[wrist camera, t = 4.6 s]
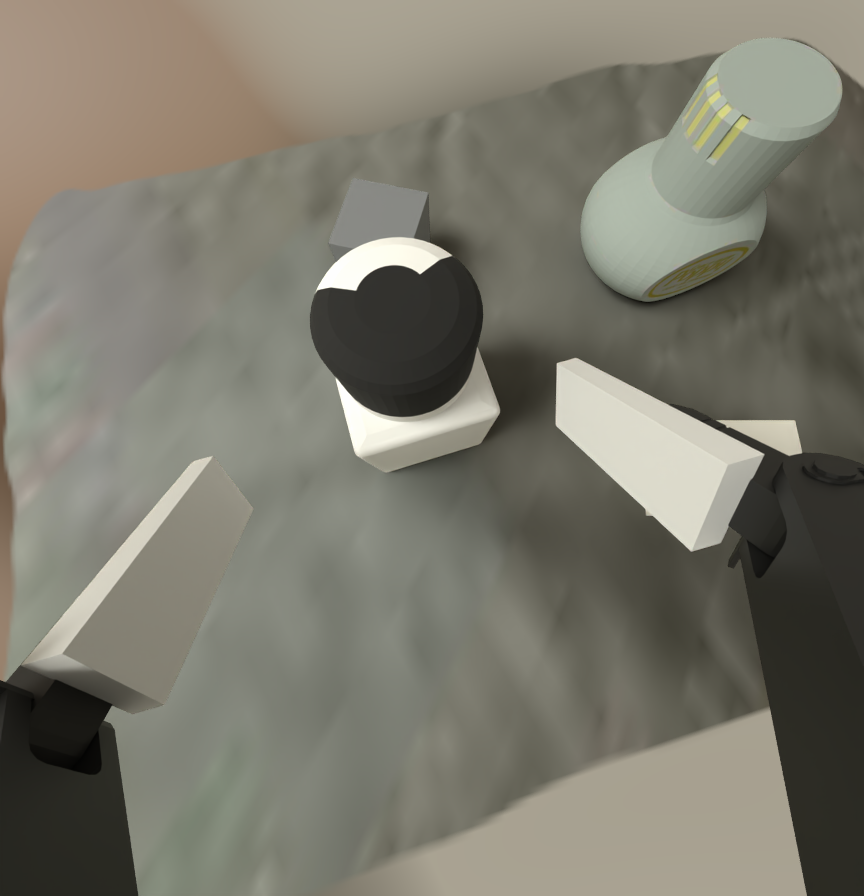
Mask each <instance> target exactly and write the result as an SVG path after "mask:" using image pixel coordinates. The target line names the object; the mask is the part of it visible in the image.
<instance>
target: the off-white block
mask: <svg viewBox="0 0 864 896" xmlns="http://www.w3.org/2000/svg"><path fill="white" fill-rule="evenodd" d="M716 421H718V422H720V423H722V424H725V425H726V427H727V428H729V427H731V428H733V429H735V430H737V431H739V432H741V433H743V434H745V435H747V436H749V437H751V438H753V439H755V440H758V441H760V442H762V443H764V444H766V445H768V446H770V447H772V448H774V449H776V450H778V451H780V452H782V453H784V454H786V455H788V456H790V455H795V454H800V453H802V450H801V445H800V441H799V436H798V432H797V427H796V423H795V420H716ZM645 510H646V509H645ZM646 516H653V515H651V514H650V513H649V512H648V511H647V510H646Z"/></svg>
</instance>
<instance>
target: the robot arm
mask: <svg viewBox="0 0 864 896" xmlns="http://www.w3.org/2000/svg"><path fill="white" fill-rule="evenodd" d="M556 426H557V427H558V428H559V429H560V430H561V431H562V432H563V433H564V434H566V435H567V436H568V437H569V438H570V439H571V440H572V441H573V442H574V443H575V444H576V445H577V446H578V447H580V448H581V449H582V450H583V451H584V452H585V453H586V454H587V455H588V456H589V457H590V458H591V459H592V460H593V461H595V462H596V463H597V464H598V465H599V466H600V467H601V468H602V469H603V470H604V471H605V472H606V473H607V474H609V475H610V476H611V477H612V478H613V479H614V480H615V481H616V482H617V483H618V484H619V485H620V486H621V487H622V488H624V489H625V490H626V491H627V492H628V493H629V494H630V495H631V496H632V497H633V498H634V499H635V500H636V501H638V502H639V503H640V504H641V505H642V506H643V507H644V508H645V509H646V510H647V511H648V512H649V513H650V514H651V515H653V516H654V517H655V518H656V519H657V520H658V521H659V522H660V523H661V524H662V525H663V526H664V527H665V528H667V529H668V530H669V531H670V532H671V533H672V534H673V535H674V536H675V537H676V538H677V539H678V540H679V541H680V542H682V543H683V544H684V545H685V546H686V547H687V548H688V549H689V550H690V551H691V552H692V551H695V550H699V549H702V548H706V547H709V546H712V545H716V544H719V543H721V541H722V539H723V537H724V535H725V533H726V531H727V529H728V527H729V526H730V527H731V528H732V529H734V530H735V531H736V532H738V533H739V534H740V535H742V537H741V539H740V541H739V542H738V544H737V546H736V548H735V550H734V552H733V553H732V555H731V557H730V559H729V563H728V567H731V568H734V567H735V565H736V564H737V562H738V560H739V559H741V563H742V568H743V573H744V578H745V583H746V588H747V593H748V598H749V603H750V608H751V614H752V619H753V624H754V629H755V634H756V639H757V644H758V649H759V654H760V659H761V664H762V669H763V674H764V680H765V685H766V690H767V695H768V700H769V705H770V710H771V715H772V720H773V725H774V730H775V735H776V740H777V745H778V750H779V756H780V761H781V766H782V771H783V776H784V781H785V786H786V791H787V796H788V801H789V807H790V812H791V817H792V821H793V827H794V832H795V837H796V842H797V847H798V852H799V857H800V862H801V867H802V873H803V878H804V883H805V888H806V892H807V896H864V465H863V464H861V463H858V462H855V461H852V460H849V459H845V458H842V457H839V456H833V455H827V454H821V453H800V454H795V455H790V456H788V455H786V454H784V453H782V452H780V451H778V450H776V449H774V448H772V447H770V446H768V445H766V444H764V443H762V442H760V441H758V440H755V439H753V438H751V437H749V436H747V435H745V434H743V433H741V432H739V431H737V430H735V429H733V428H731V427H729V428H727V427H726V425H725V424H722V423H720V422H718V421H716V420H711V418H710V417H708V416H706V415H704V414H702V413H700V412H698V411H696V410H694V409H690V408H686V407H682V406H678V405H674V404H669V405H667V404H665V403H663V402H662V401H660V400H658V399H656V398H654V397H652V396H650V395H648V394H646V393H644V392H642V391H640V390H638V389H636V388H634V387H632V386H630V385H628V384H626V383H624V382H622V381H620V380H619V379H617V378H615V377H613V376H611V375H609V374H607V373H605V372H603V371H601V370H599V369H597V368H595V367H593V366H591V365H589V364H587V363H585V362H583V361H581V360H579V359H578V358H574V359H570V360H567V361H563V362H559V363H557V384H556ZM252 511H253V507H252V506H251V505H250V503H249V502H248V501H247V499H246V498H245V497H244V495H243V494H242V493H241V492H240V490H239V489H238V488H237V486H236V485H235V484H234V482H233V481H232V480H231V478H230V477H229V476H228V474H227V473H226V472H225V470H224V469H223V468H222V466H221V465H220V464H219V463H218V461H217V460H216V459H215V457H214V456H211V457H208V458H204V459H200V460H197V461H193V462H192V463H191V464H190V465H189V467H188V468H187V469H186V470H185V471H184V473H183V474H182V475H181V476H180V477H179V478H178V480H177V481H176V482H175V483H174V484H173V486H172V487H171V488H170V489H169V490H168V491H167V493H166V494H165V495H164V496H163V497H162V499H161V500H160V501H159V502H158V503H157V505H156V506H155V507H154V508H153V509H152V510H151V512H150V513H149V514H148V515H147V516H146V518H145V519H144V520H143V521H142V522H141V523H140V525H139V526H138V527H137V528H136V529H135V531H134V532H133V533H132V534H131V535H130V536H129V538H128V539H127V540H126V541H125V542H124V544H123V545H122V546H121V547H120V548H119V549H118V551H117V552H116V553H115V554H114V555H113V557H112V558H111V559H110V560H109V561H108V563H107V564H106V565H105V566H104V567H103V568H102V570H101V571H100V572H99V573H98V574H97V576H95V577H94V579H93V580H92V581H91V582H90V583H89V585H88V586H87V587H86V588H85V589H84V590H83V592H82V593H81V594H80V595H79V597H78V598H77V599H76V600H75V601H74V602H73V603H72V605H71V606H70V607H69V608H68V609H67V611H66V612H65V613H64V615H63V616H61V618H60V619H59V620H58V621H57V622H56V624H55V625H54V626H53V627H52V628H51V629H50V631H49V632H48V633H47V634H46V635H45V637H44V638H43V639H42V640H41V641H40V642H39V644H38V645H37V646H36V647H35V648H34V650H33V651H32V652H31V653H30V654H29V655H28V657H27V658H26V659H25V660H24V661H23V663H22V664H21V665H20V666H19V667H18V668H17V670H16V671H15V672H14V673H13V674H12V676H11V677H10V678H9V679H8V680H7V681H6V682H4V681H1V680H0V896H138V891H137V884H136V877H135V870H134V863H133V856H132V849H131V842H130V835H129V828H128V821H127V814H126V807H125V800H124V793H123V786H122V779H121V772H120V765H119V758H118V751H117V744H116V737H115V730H114V728H113V726H112V725H111V724H110V723H108V722H105V721H103V720H104V719H105V717H106V715H107V713H108V712H109V710H110V708H111V706H115V707H117V708H119V709H121V710H124V711H126V712H128V713H131V714H135V713H138V712H142V711H145V710H148V709H152V708H155V707H159V706H162V705H165V703H166V701H167V698H168V696H169V694H170V692H171V690H172V687H173V685H174V683H175V681H176V679H177V676H178V674H179V672H180V670H181V668H182V665H183V663H184V661H185V659H186V657H187V654H188V652H189V650H190V648H191V645H192V643H193V641H194V639H195V637H196V634H197V632H198V630H199V628H200V626H201V623H202V621H203V619H204V617H205V615H206V612H207V610H208V608H209V606H210V604H211V601H212V599H213V597H214V595H215V592H216V590H217V588H218V586H219V584H220V581H221V579H222V577H223V575H224V573H225V570H226V568H227V566H228V564H229V562H230V559H231V557H232V555H233V553H234V551H235V548H236V546H237V544H238V542H239V540H240V537H241V535H242V533H243V531H244V528H245V526H246V524H247V522H248V520H249V517H250V515H251V513H252Z"/></svg>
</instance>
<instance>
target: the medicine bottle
mask: <svg viewBox="0 0 864 896" xmlns="http://www.w3.org/2000/svg"><path fill="white" fill-rule="evenodd" d="M482 322H483V305H482V300H481V295H480V292H479V290H478V287H477V284H476V283H475V281H474V279H473V277H472V275H471V274H470V273H469V271H468V270H467V269H466V268H465V266H464V265H463V264H462V263H461V262H460V261H458V260H457V259H456V258H455V257H454V256H452V255H451V254H449V253H448V252H447V251H445V250H443V249H441V248H440V247H438V246H436V245H434V244H431V243H428V242H426V241H422V240H418V239H414V238H405V237H392V238H384V239H379V240H375V241H371V242H368V243H366V244H363V245H361V246H359V247H357V248H355V249H353V250H351V251H350V252H348V253H347V254H345V255H344V256H342V257H341V258H340V259H339V260H338V261H337V262H336V263H335V264H334V265H333V266H332V267H331V268H330V270H329V271H328V272H327V273H326V275H325V277H324V278H323V280H322V281H321V283H320V284H319V286H318V289H317V291H316V293H315V295H314V299H313V302H312V306H311V313H310V329H311V335H312V339H313V342H314V345H315V348H316V350H317V352H318V354H319V356H320V358H321V359H322V360H323V362H324V363H325V364H326V366H327V367H328V368H329V370H330V371H331V372H332V373H333V375H334V376H335V378H336V382H337V385H338V389H339V393H340V397H341V401H342V405H343V409H344V412H345V416H346V420H347V424H348V428H349V432H350V436H351V439H352V443H353V447H354V451H355V453H356V455H357V456H358V457H360V458H362V459H363V460H365V461H367V462H368V463H370V464H372V465H373V466H375V467H376V468H378V469H380V470H381V471H383V472H390V471H394V470H397V469H400V468H404V467H407V466H410V465H413V464H417V463H420V462H423V461H426V460H430V459H433V458H436V457H440V456H443V455H446V454H449V453H453V452H456V451H459V450H462V449H466V448H469V447H472V446H476V445H479V444H480V443H481V442H482V441H483V439H484V437H485V436H486V434H487V433H488V431H489V430H490V428H491V426H492V425H493V423H494V422H495V420H496V418H497V417H498V415H499V413H500V407H499V405H498V402H497V399H496V396H495V394H494V391H493V388H492V385H491V383H490V380H489V377H488V374H487V372H486V369H485V366H484V363H483V361H482V358H481V355H480V352H479V350H478V347H477V346H478V342H479V338H480V333H481V329H482Z"/></svg>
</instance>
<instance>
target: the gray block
mask: <svg viewBox="0 0 864 896" xmlns="http://www.w3.org/2000/svg"><path fill="white" fill-rule="evenodd" d="M392 237H405V238H414V239H418V240H422V241H426V242H428V243H430V221H429V195H428V192H423V191H418V190H412V189H407V188H402V187H397V186H392V185H387V184H382V183H376V182H371V181H366V180H361V179H356V178H353V179H352V182H351V184H350V187H349V189H348V192H347V195H346V197H345V200H344V203H343V205H342V208H341V210H340V213H339V216H338V218H337V221H336V224H335V226H334V229H333V231H332V234H331V237H330V239H329V242H328V244H329V247H330V249H331V251H332V254H333V256H334V258H335V261H336V262H337V261H338V260H339V259H340V258H341V257H342V256H344V255H345V254H347V253H348V252H350V251H351V250H353V249H355V248H357V247H359V246H361V245H363V244H366V243H368V242H371V241H375V240H379V239H384V238H392Z"/></svg>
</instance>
